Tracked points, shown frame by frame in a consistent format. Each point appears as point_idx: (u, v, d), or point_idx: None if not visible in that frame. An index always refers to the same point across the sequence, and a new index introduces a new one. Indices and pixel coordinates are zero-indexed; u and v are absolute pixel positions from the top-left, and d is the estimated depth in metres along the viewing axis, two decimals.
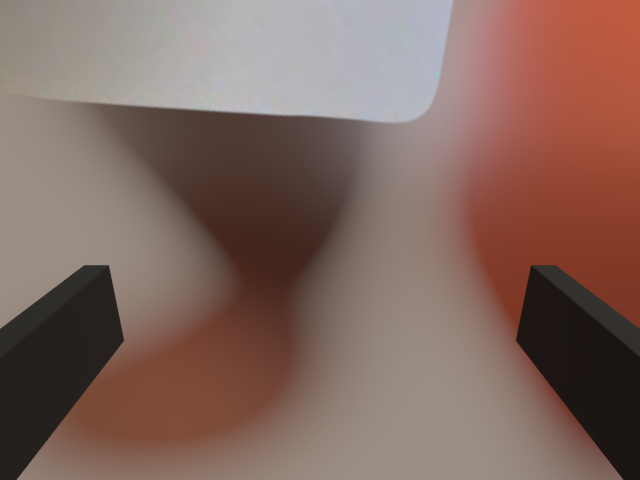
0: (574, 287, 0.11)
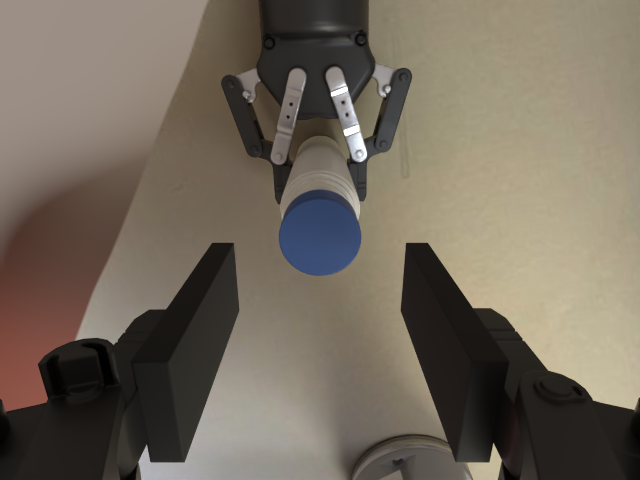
0: (430, 259, 0.13)
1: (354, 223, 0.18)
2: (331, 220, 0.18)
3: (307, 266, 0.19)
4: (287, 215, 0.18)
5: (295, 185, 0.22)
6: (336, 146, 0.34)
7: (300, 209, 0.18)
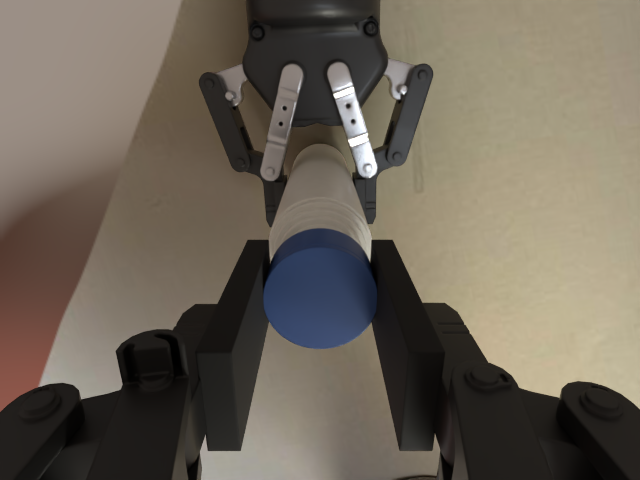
0: (391, 255, 0.13)
1: (369, 280, 0.13)
2: (336, 276, 0.13)
3: (302, 337, 0.13)
4: (274, 269, 0.13)
5: (287, 217, 0.16)
6: (339, 157, 0.29)
7: (292, 261, 0.13)
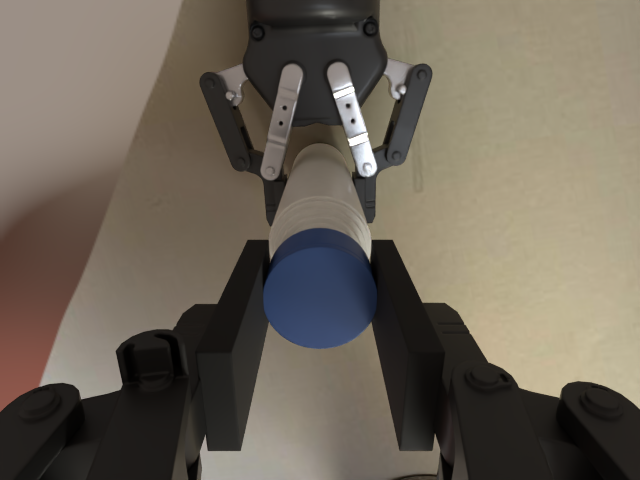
0: (391, 255, 0.13)
1: (269, 283, 0.13)
2: (289, 306, 0.13)
3: (364, 287, 0.13)
4: (324, 347, 0.14)
5: (287, 216, 0.16)
6: (339, 157, 0.29)
7: (306, 341, 0.14)
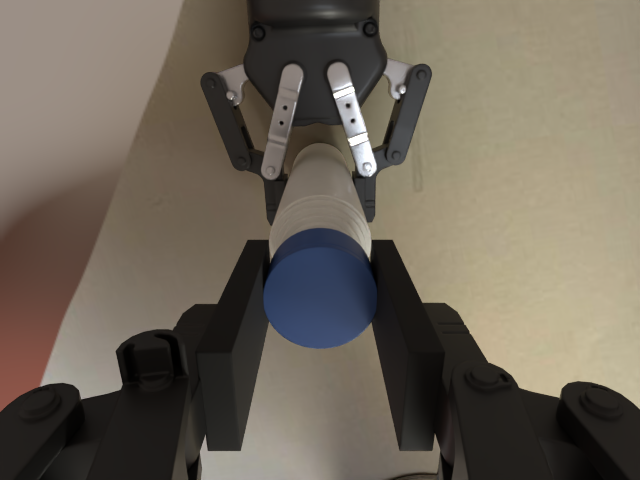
0: (391, 255, 0.13)
1: (337, 343, 0.14)
2: (345, 316, 0.13)
3: (279, 280, 0.13)
4: (360, 262, 0.13)
5: (288, 214, 0.17)
6: (339, 156, 0.29)
7: (366, 280, 0.13)
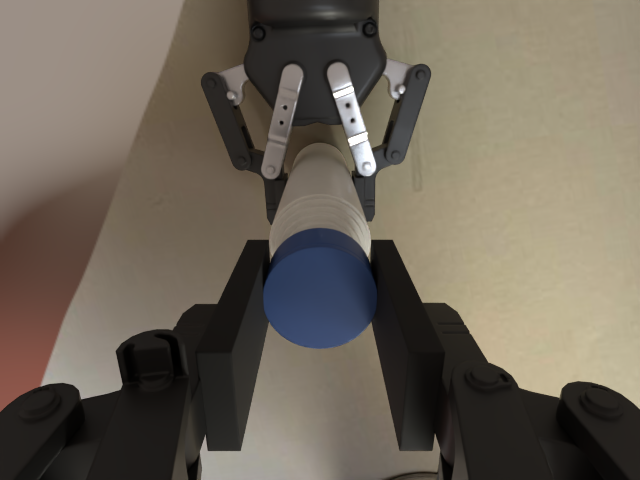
0: (391, 255, 0.13)
1: (346, 258, 0.12)
2: (316, 272, 0.13)
3: (329, 339, 0.14)
4: (263, 298, 0.13)
5: (288, 213, 0.17)
6: (339, 156, 0.29)
7: (272, 283, 0.13)
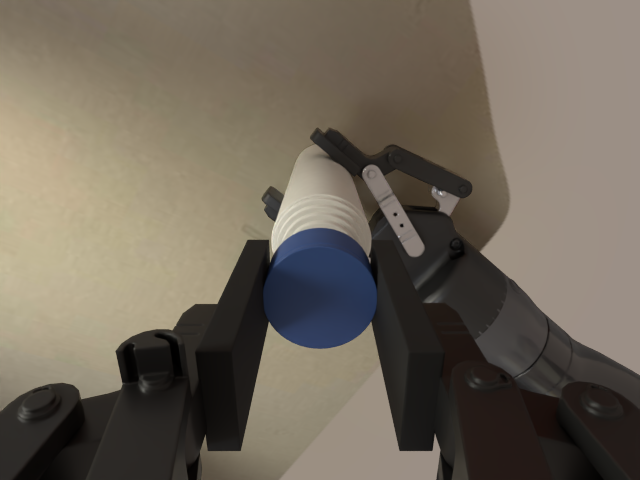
0: (391, 255, 0.13)
1: (346, 258, 0.12)
2: (316, 272, 0.13)
3: (329, 338, 0.14)
4: (263, 298, 0.13)
5: (367, 247, 0.18)
6: None
7: (272, 282, 0.13)
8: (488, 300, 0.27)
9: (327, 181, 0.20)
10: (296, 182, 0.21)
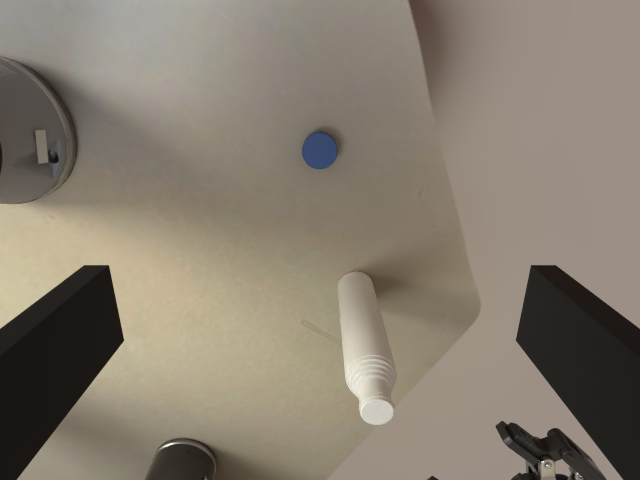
0: (574, 287, 0.11)
1: (327, 137, 0.42)
2: (318, 141, 0.43)
3: (322, 165, 0.44)
4: (302, 151, 0.43)
5: (394, 380, 0.35)
6: None
7: (305, 145, 0.43)
8: None
9: (372, 337, 0.37)
10: (352, 331, 0.38)
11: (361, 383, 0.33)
